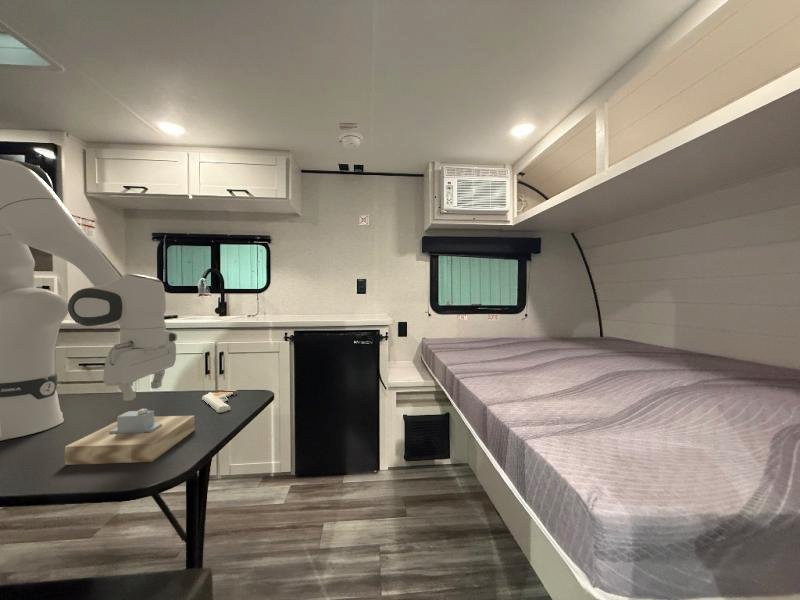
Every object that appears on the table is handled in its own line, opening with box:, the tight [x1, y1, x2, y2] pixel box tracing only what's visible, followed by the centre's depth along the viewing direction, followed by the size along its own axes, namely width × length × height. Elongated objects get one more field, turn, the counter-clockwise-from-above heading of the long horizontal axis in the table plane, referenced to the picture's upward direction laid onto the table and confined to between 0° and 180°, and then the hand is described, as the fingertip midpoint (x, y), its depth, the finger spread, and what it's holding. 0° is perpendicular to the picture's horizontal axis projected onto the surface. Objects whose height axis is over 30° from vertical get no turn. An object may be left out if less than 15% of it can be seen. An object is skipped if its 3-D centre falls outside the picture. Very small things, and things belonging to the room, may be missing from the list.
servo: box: [109, 408, 162, 434], centre depth 75 cm, size 10×3×9 cm, turn 96°
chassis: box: [64, 415, 196, 466], centre depth 75 cm, size 18×16×4 cm
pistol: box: [201, 388, 237, 414], centre depth 106 cm, size 2×20×11 cm
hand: (143, 393), depth 77 cm, fingers open, 8 cm apart
